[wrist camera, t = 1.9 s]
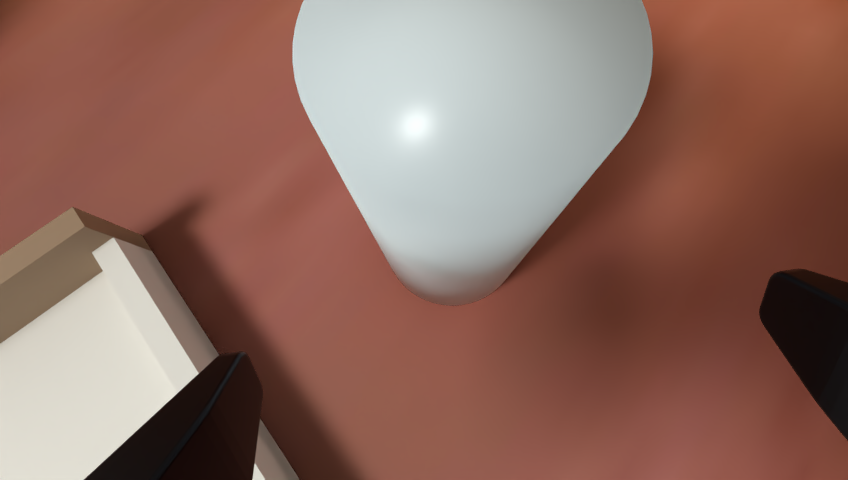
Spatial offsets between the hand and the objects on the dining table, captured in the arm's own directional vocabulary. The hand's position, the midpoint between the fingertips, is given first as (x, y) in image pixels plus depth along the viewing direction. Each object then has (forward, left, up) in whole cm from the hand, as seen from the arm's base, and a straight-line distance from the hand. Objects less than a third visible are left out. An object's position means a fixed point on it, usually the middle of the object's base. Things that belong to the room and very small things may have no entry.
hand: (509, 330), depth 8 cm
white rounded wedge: (+4, -3, -11) cm, 12 cm away
